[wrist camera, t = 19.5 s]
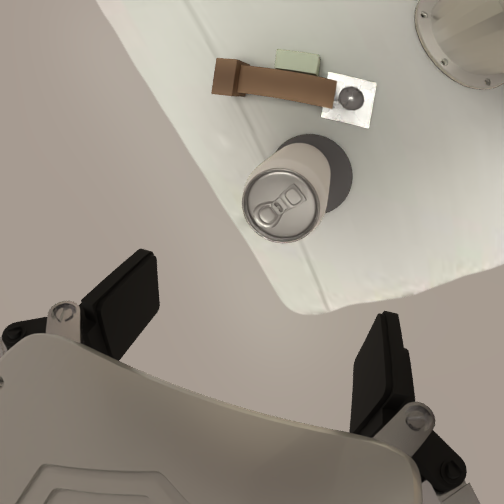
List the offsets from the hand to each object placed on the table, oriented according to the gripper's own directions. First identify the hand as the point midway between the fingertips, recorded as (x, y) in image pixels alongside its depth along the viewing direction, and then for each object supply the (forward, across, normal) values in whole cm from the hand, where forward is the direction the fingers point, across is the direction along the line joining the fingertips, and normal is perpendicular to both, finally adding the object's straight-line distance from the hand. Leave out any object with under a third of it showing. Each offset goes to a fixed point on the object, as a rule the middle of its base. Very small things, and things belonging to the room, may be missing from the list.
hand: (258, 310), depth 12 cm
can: (+23, +1, 0) cm, 23 cm away
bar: (+22, +4, -9) cm, 25 cm away
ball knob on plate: (+23, -2, -9) cm, 25 cm away
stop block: (+23, +3, -12) cm, 26 cm away
